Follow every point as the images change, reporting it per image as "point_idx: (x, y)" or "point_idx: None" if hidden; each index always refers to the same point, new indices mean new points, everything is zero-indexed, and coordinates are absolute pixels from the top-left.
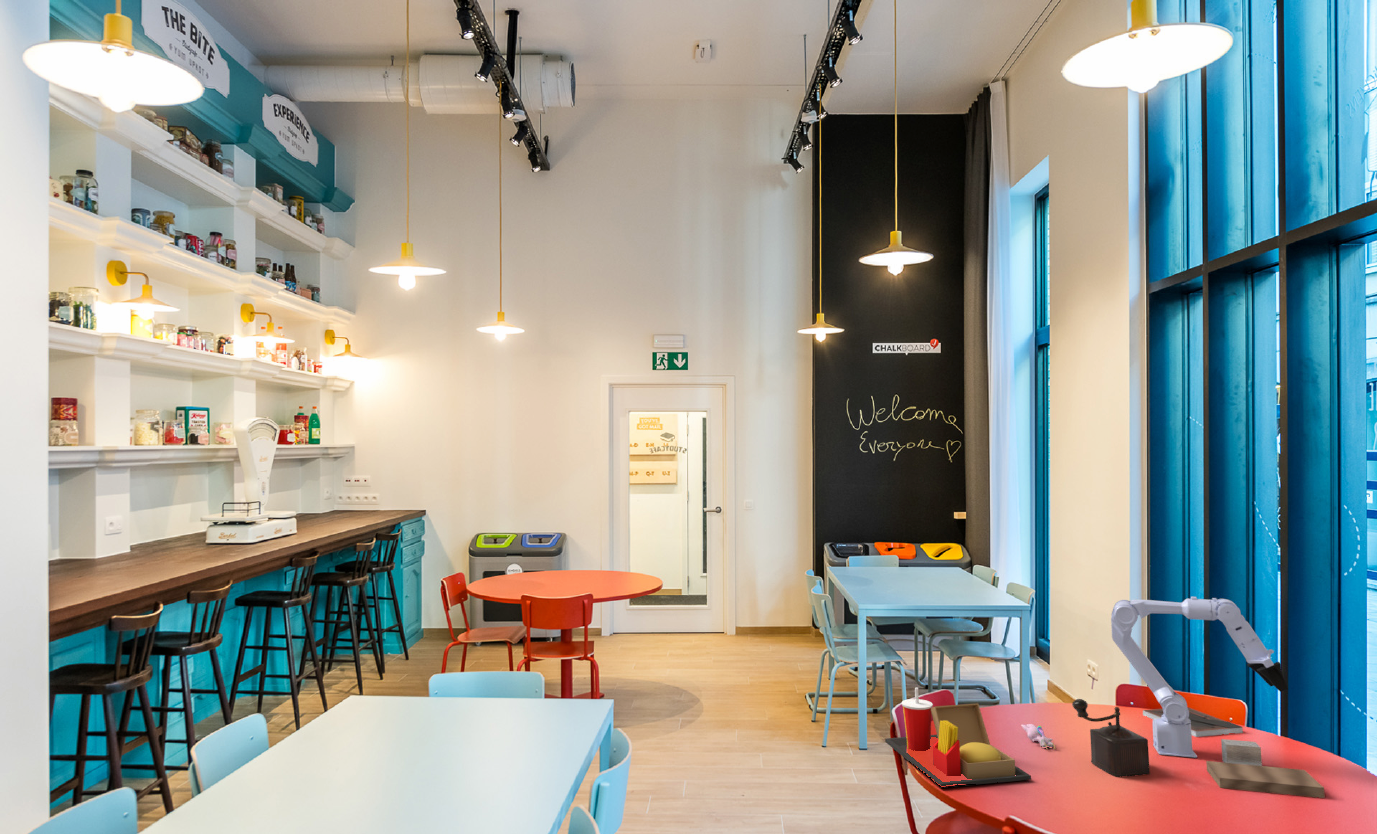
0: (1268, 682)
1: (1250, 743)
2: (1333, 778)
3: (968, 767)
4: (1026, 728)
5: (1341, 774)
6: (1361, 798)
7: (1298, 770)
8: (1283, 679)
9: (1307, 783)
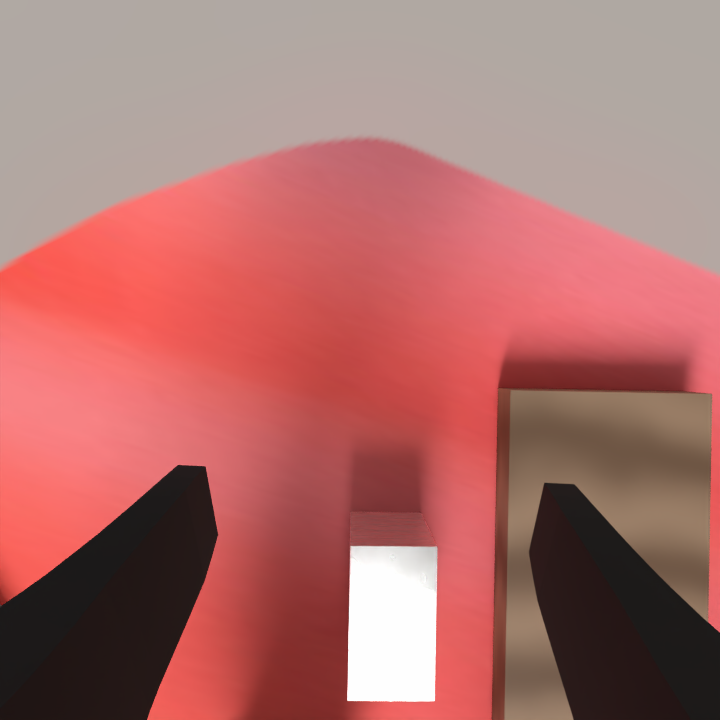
0: (199, 576)
1: (384, 576)
2: (451, 274)
3: None
4: None
5: (393, 224)
6: (648, 261)
7: (524, 417)
8: (655, 585)
9: (679, 439)
